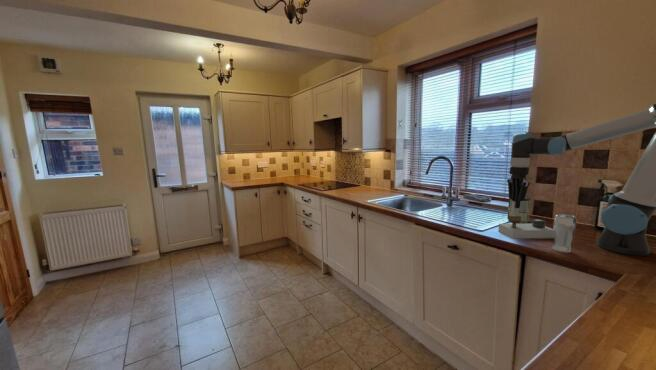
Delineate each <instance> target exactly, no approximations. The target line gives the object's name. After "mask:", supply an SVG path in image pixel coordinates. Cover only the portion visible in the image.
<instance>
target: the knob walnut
mask: <svg viewBox="0 0 656 370" xmlns="http://www.w3.org/2000/svg"><path fill="white" fill-rule="evenodd" d="M507 222H509V223H510V224H512V227H513V228H516V224H522V223H521V216H518V215H509V220H507Z"/></svg>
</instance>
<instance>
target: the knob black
mask: <svg viewBox="0 0 656 370" xmlns="http://www.w3.org/2000/svg"><path fill="white" fill-rule="evenodd" d="M531 223H532V226H534V227H538V228H545V226H546V220H544V219H538V218H533V219H532V222H531Z"/></svg>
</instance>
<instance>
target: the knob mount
mask: <svg viewBox="0 0 656 370" xmlns="http://www.w3.org/2000/svg"><path fill="white" fill-rule="evenodd" d="M498 232H499V233H501V234H504V235H505V236H507V237H510V238H511V239H554V230H553V228H551V227H548V226H546V225H545V228H538V227H534V226H532V222H530V223H516V228H513V227H512V223H498Z"/></svg>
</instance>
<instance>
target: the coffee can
mask: <svg viewBox="0 0 656 370" xmlns="http://www.w3.org/2000/svg"><path fill="white" fill-rule="evenodd" d="M530 204H531V197H529V196H525V199H524V201H521V202H520V208H519V214H511V209H512V200H511V198H509V197H508V207H507V219H508V220H509V215H518V216H521V223H520V224H528V222H529V217H530V208H531V207H530V206H531V205H530ZM508 220H507V221H508Z"/></svg>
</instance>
